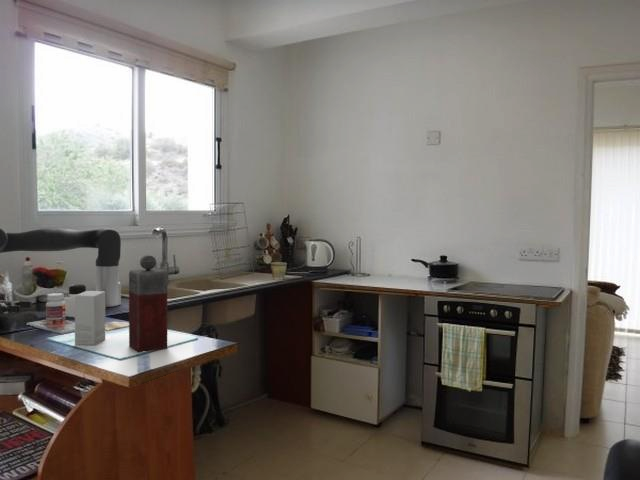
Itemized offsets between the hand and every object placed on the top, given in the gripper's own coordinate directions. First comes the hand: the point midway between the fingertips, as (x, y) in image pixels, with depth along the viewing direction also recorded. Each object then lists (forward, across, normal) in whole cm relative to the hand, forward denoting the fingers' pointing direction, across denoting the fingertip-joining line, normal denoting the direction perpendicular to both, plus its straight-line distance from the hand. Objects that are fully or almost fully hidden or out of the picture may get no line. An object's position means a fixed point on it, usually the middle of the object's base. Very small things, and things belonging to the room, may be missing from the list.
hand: (25, 306), depth 183 cm
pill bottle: (+10, 0, +7) cm, 12 cm away
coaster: (+29, -2, +7) cm, 30 cm away
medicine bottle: (+11, +18, +7) cm, 23 cm away
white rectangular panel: (+12, -1, +7) cm, 14 cm away
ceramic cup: (+94, +130, +8) cm, 161 cm away
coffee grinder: (+47, -30, +7) cm, 57 cm away
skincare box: (+29, -24, +7) cm, 38 cm away
